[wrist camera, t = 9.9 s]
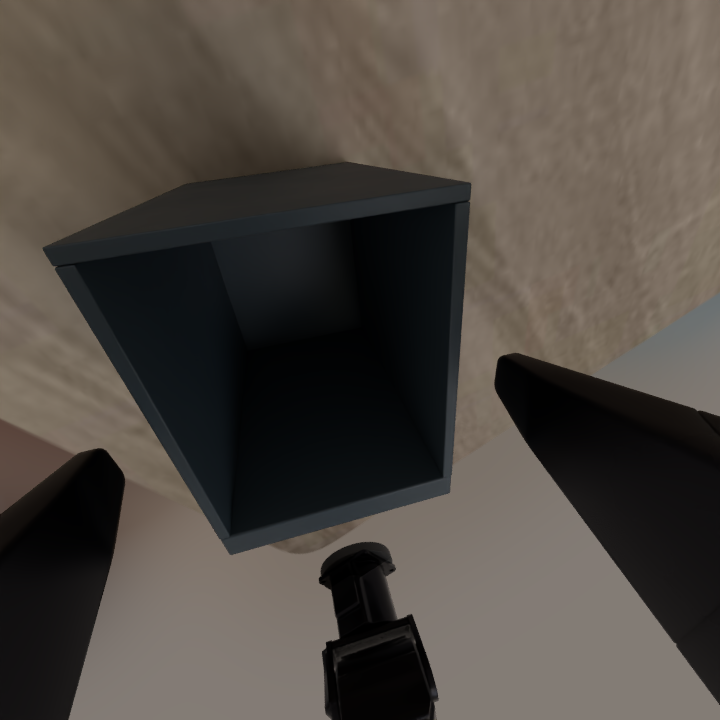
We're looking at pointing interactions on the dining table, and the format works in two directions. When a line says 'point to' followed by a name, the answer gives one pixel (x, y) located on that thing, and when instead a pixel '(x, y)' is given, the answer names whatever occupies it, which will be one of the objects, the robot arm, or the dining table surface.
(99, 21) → the dining table surface
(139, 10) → the dining table surface
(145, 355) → the bin
